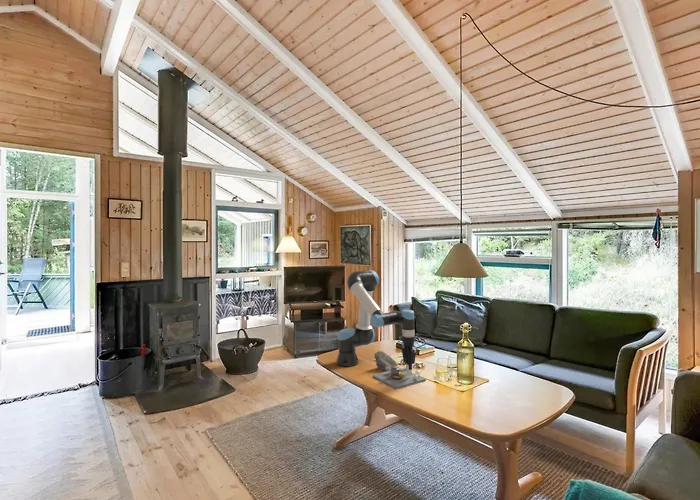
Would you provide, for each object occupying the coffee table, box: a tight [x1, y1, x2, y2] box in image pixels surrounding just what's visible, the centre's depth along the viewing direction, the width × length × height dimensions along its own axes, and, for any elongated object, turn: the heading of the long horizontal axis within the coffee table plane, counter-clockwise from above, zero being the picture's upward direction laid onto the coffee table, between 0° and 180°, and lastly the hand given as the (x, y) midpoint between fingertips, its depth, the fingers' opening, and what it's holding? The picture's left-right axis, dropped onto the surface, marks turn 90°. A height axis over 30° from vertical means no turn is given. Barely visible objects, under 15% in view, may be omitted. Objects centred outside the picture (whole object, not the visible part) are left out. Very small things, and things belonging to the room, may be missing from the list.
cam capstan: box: [381, 365, 407, 379], centre depth 237 cm, size 19×19×6 cm
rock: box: [373, 350, 398, 372], centre depth 256 cm, size 12×8×15 cm, turn 35°
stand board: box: [372, 367, 427, 390], centre depth 237 cm, size 24×22×6 cm
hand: (409, 374), depth 235 cm, fingers closed
